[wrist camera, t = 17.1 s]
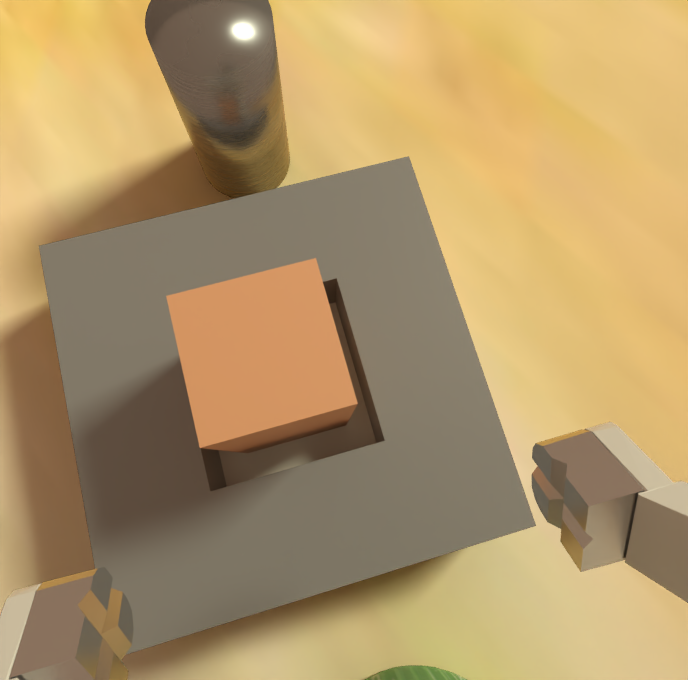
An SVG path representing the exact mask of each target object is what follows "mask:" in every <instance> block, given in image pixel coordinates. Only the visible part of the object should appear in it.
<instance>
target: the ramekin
mask: <svg viewBox="0 0 688 680" xmlns="http://www.w3.org/2000/svg"><path fill="white" fill-rule="evenodd" d="M365 680H466V679H465V678H463V677H461V676H458V675H456V674H454V673H452V672H449V671H446V670H442V669H439V668H436V667H429V666H401V667H395V668H391V669H388V670H385V671H382V672H379V673H377V674H375V675H373V676H371V677H369V678H367V679H365Z"/></svg>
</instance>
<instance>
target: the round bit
mask: <svg viewBox="0 0 688 680" xmlns="http://www.w3.org/2000/svg"><path fill="white" fill-rule="evenodd" d="M145 29H146V34H147V37H148V40H149V43H150V45H151V47H152V50H153V52H154V54H155V57H156V59H157V62H158V64H159V66H160V69H161V71H162V73H163V76H164V78H165V80H166V83H167V85H168V87H169V90H170V92H171V95H172V97H173V99H174V102H175V104H176V106H177V109H178V111H179V113H180V116H181V118H182V121H183V123H184V125H185V128H186V130H187V132H188V135H189V137H190V139H191V142H192V144H193V146H194V149H195V151H196V154H197V156H198V158H199V161H200V163H201V165H202V168H203V170H204V172H205V175H206V177H207V179H208V180H209V182H210V183H211V184H212V185H213V186H214V188H216V189H217V190H218V191H220V192H221V193H223V194H225V195H227V196H230V197H233V198H239V197H243V196H247V195H251V194H256V193H260V192H264V191H268V190H272V189H275V188H277V187H278V186H279V185H280V184H281V182H282V181H283V180H284V178H285V176H286V174H287V172H288V169H289V164H290V154H289V146H288V138H287V130H286V122H285V114H284V106H283V97H282V89H281V81H280V73H279V65H278V57H277V49H276V41H275V32H274V24H273V16H272V11H271V7H270V4H269V1H268V0H151V2H150V4H149V6H148V9H147V12H146V18H145Z"/></svg>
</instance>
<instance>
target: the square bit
mask: <svg viewBox="0 0 688 680" xmlns="http://www.w3.org/2000/svg"><path fill="white" fill-rule="evenodd" d="M166 297H167V302H168V306H169V311H170V316H171V320H172V325H173V329H174V334H175V338H176V343H177V347H178V352H179V356H180V361H181V365H182V370H183V374H184V379H185V383H186V388H187V392H188V397H189V401H190V406H191V410H192V415H193V420H194V424H195V429H196V433H197V438H198V442H199V447H200V448H204V449H213V450H222V451H231V452H240V453H250V452H254V451H258V450H261V449H265V448H268V447H272V446H275V445H279V444H282V443H286V442H289V441H293V440H296V439H300V438H303V437H307V436H310V435H314V434H317V433H321V432H324V431H328V430H331V429H335V428H338V427H342V426H345V425H347V423H348V421H349V419H350V418H351V416H352V414H353V412H354V410H355V408H356V406H357V404H358V402H357V399H356V395H355V392H354V389H353V385H352V382H351V378H350V375H349V371H348V368H347V364H346V361H345V357H344V354H343V350H342V347H341V343H340V340H339V336H338V333H337V329H336V326H335V323H334V319H333V316H332V312H331V309H330V305H329V302H328V298H327V295H326V291H325V288H324V284H323V281H322V277H321V274H320V270H319V267H318V264H317V260H316V258H314V259H310V260H306V261H302V262H298V263H294V264H290V265H286V266H282V267H278V268H274V269H270V270H266V271H262V272H259V273H255V274H251V275H247V276H243V277H239V278H235V279H231V280H227V281H223V282H219V283H215V284H211V285H207V286H203V287H199V288H196V289H192V290H188V291H184V292H180V293H176V294H172V295H168V296H166Z"/></svg>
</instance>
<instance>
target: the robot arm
mask: <svg viewBox="0 0 688 680" xmlns="http://www.w3.org/2000/svg"><path fill="white" fill-rule="evenodd" d="M532 458H533V460H534V461H535V463H536V464H537V465H538V467H537V468H536V469H535V471H534V472H533V473H532V489H533V492H534V496H535V500H536V502H537V504H538V506H539V508H540V510H541V512H542V514H543V515H544V517H545V518H546V520H547V522H549V523H551V524H553V525H555V526H557V527H558V528H560V529H561V541H560V542H561V543H562V545H563V546H564V548H565V549H566V551H567V552H568V554H569V555H570V557H571V558H572V560H573V561H574V563H575V564H576V566H577V567H578V569H579V570H580V572H582V571H586V570H590V569H593V568H597V567H601V566H604V565H608V564H612V563H615V562H619V561H622V560H625V563H627V564H628V565H630V566H631V567H633V568H634V569H636V570H638V571H639V572H641V573H642V574H644V575H645V576H647V577H648V578H650V579H652V580H653V581H655V582H656V583H658V584H659V585H661V586H663V587H664V588H666V589H667V590H669V591H670V592H672V593H673V594H675V595H677V596H678V597H680V598H681V599H683V600H684V601H686V602H688V483H686V482H684V481H679V482H675V483H674V482H673V481H672V480H671V479H670V478H669V477H668V476H667V475H666V474H665V473H664V472H663V471H662V470H661V469H660V468H659V467H658V466H657V465H656V464H655V463H654V462H653V461H652V460H651V459H650V458H649V457H648V456H647V455H646V454H645V453H644V452H643V451H642V450H641V449H640V448H639V447H638V446H637V445H636V444H635V443H634V442H633V441H632V440H631V439H630V438H629V437H628V436H627V435H626V434H625V433H624V432H623V431H622V430H621V429H620V428H619V427H618V426H617V425H616V424H614V423H612V422H608V423H604V424H601V425H597V426H594V427H590V428H587V429H585V430H578V431H575V432H572V433H568V434H565V435H562V436H558V437H555V438H552V439H548V440H545V441H542V442H538V443H535V445H534V447H533V453H532ZM112 580H113V577H112V576H111V574H110V573H109V572H108V571H107V569H106V568H105V567H102V568H96V569H93V570H89V571H85V572H81V573H77V574H73V575H69V576H65V577H61V578H57V579H53V580H50V581H46V582H43V583H39V584H35V585H31V586H28V587H24V588H20V589H16V590H14V591H13V592H12V593H11V594H10V595H9V597H8V598H7V599H6V601H5V603H4V606H3V609H2V612H1V615H0V680H127V678H128V670H127V668H126V667H125V665H124V664H123V662H122V661H121V660H122V659H123V657H124V656H125V654H126V653H127V651H128V650H129V648H130V647H131V646H132V639H133V630H134V626H133V615H132V609H131V607H130V604H129V601H128V599H127V597H126V596H125V594H124V593H123V592H122V591H119V590H116V589H113V588H111V586H112Z"/></svg>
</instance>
